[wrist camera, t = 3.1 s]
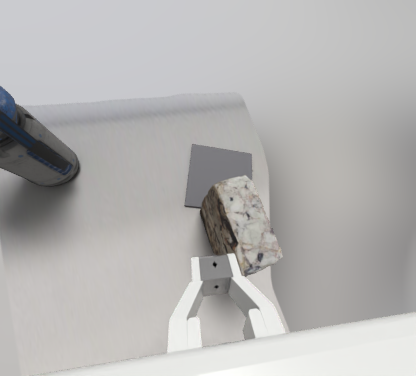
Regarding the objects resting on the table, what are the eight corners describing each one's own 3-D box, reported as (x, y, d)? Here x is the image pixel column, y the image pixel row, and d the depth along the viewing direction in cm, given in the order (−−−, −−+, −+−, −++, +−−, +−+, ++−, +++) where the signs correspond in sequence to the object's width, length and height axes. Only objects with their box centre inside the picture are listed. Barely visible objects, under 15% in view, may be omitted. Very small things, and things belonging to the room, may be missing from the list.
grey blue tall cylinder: (73, 199, 37) (-106, 122, 13) (16, 176, 36) (-275, 56, 13) (99, 162, 40) (-6, 53, 17) (48, 142, 40) (-134, -1, 16)
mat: (251, 213, 43) (252, 212, 43) (184, 205, 41) (184, 205, 40) (250, 154, 49) (251, 153, 49) (192, 145, 47) (192, 143, 46)
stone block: (238, 246, 40) (292, 258, 21) (212, 259, 38) (247, 284, 19) (216, 197, 42) (248, 167, 23) (191, 207, 40) (203, 183, 21)
